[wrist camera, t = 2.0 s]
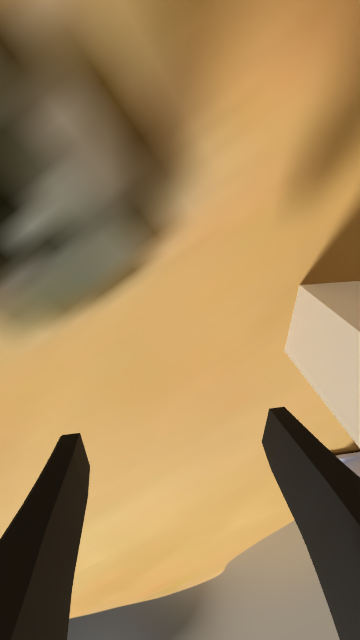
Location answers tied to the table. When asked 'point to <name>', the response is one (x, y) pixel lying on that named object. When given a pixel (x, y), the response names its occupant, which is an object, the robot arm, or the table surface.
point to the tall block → (330, 347)
